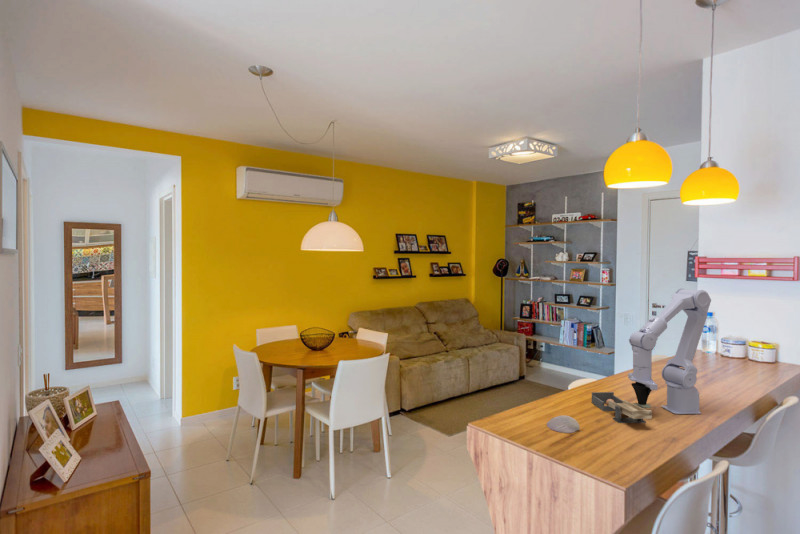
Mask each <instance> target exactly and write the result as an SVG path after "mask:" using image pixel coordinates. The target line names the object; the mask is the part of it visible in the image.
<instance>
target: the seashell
mask: <svg viewBox="0 0 800 534" xmlns="http://www.w3.org/2000/svg"><path fill="white" fill-rule="evenodd" d="M546 427H547V428H549V430H552V431H554V432H557V433H561V434H562V433H563V434H571V433H576V432H578V431H579V430H580V424H579V422H578V421H577V420H576V419H575V418H574V417H571V416H569V415H557V416H555V417H552V418H551V419H549V421H547V422H546Z"/></svg>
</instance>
